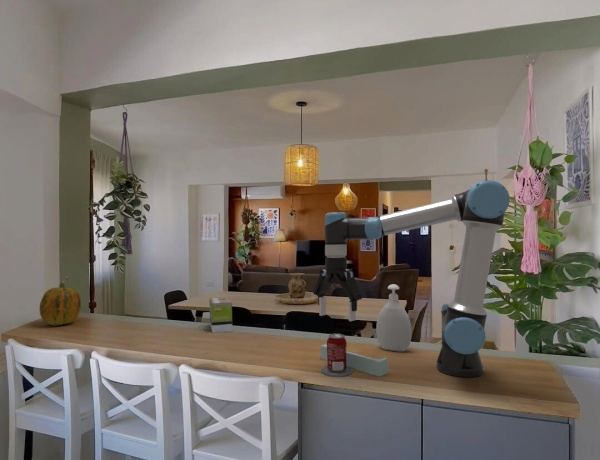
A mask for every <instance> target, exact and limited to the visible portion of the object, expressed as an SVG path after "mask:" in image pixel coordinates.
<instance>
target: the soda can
mask: <svg viewBox="0 0 600 460" xmlns="http://www.w3.org/2000/svg"><path fill="white" fill-rule="evenodd" d="M326 344H327V360H326V366H327V369H328V370H330V371H331V372H343V371H344V370H346V351H347V339H346V337H345V334H342V333H329V334H328V338H327V339H326Z"/></svg>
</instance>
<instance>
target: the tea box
mask: <svg viewBox="0 0 600 460" xmlns="http://www.w3.org/2000/svg"><path fill="white" fill-rule="evenodd" d="M209 326H210V330H211V332H212V333H213V334H216V333H225V332H226V333H227V332H233V302H232V301H231V299H230V298H229V297H226V296H225V297H213V298H212V297H211V298H209Z"/></svg>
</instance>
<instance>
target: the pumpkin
mask: <svg viewBox="0 0 600 460" xmlns="http://www.w3.org/2000/svg"><path fill="white" fill-rule="evenodd" d="M64 278H65V279H64V280H61V281H60V282H59V284H58V287H51V288H49V289H48V290H47V291H45V292H44V294H43V295H42V298H41V300H40V303H39V315H40V317H41V319H42V320H43V322H44V323H45V324H47V325H50V326H54V327H55V326H56V327H57V326H58V325H59V326H63V324H64V325H69V324H71V323H73V322H74V321H75V320H76V319H77V318H78V316H79V314H80V312H81V308H82V307H81V305H82V300H81V295H80V293H79V292H78V291H77V290H76V289H74V288H72V287H70V286H69V287H66V285H65V284H66V283H68V282H69V280H70V276H67V275H66V276H65V277H64Z"/></svg>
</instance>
